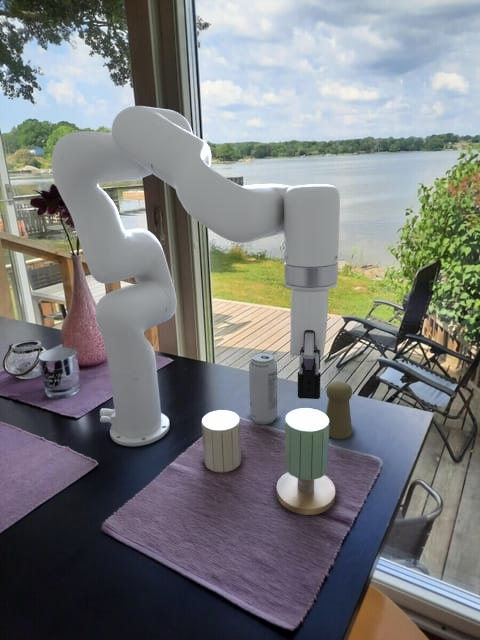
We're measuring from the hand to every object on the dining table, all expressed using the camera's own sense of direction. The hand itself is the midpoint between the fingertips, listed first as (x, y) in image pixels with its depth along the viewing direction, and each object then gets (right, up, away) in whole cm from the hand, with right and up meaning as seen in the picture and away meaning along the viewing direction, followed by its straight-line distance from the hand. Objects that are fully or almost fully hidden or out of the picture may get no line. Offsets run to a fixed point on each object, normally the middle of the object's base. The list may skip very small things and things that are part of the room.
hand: (309, 382), depth 69 cm
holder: (0, -20, +7) cm, 21 cm away
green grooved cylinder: (0, -15, +5) cm, 16 cm away
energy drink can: (-5, -12, +30) cm, 33 cm away
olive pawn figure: (+10, -14, +25) cm, 30 cm away
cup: (-14, -17, +16) cm, 28 cm away
